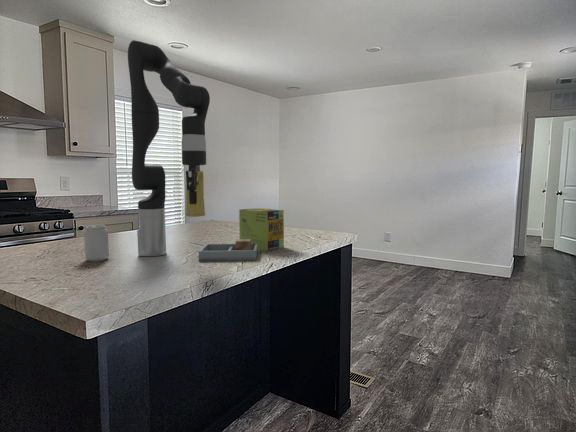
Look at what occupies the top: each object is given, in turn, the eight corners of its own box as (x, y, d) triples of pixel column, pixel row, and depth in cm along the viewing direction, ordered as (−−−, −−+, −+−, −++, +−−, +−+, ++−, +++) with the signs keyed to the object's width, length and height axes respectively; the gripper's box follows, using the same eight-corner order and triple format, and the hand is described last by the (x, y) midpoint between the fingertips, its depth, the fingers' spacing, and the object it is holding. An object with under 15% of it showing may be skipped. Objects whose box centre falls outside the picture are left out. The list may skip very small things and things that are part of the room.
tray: (198, 260, 134) (198, 251, 133) (206, 252, 148) (206, 243, 148) (255, 260, 134) (255, 250, 134) (257, 251, 149) (257, 243, 148)
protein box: (268, 251, 150) (267, 211, 148) (239, 247, 159) (238, 209, 157) (284, 247, 158) (284, 209, 156) (256, 243, 167) (255, 207, 166)
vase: (207, 214, 128) (206, 171, 126) (201, 216, 122) (200, 171, 120) (189, 214, 129) (188, 171, 127) (183, 216, 123) (181, 171, 121)
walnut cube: (235, 255, 139) (235, 241, 138) (237, 252, 144) (236, 239, 143) (249, 255, 139) (249, 241, 138) (250, 252, 144) (250, 239, 143)
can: (99, 262, 132) (97, 227, 131) (80, 261, 134) (78, 226, 133) (113, 257, 140) (112, 224, 138) (95, 257, 141) (93, 224, 140)
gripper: (201, 148, 116) (202, 205, 118) (209, 151, 130) (210, 201, 132) (176, 148, 116) (177, 205, 118) (187, 151, 130) (188, 201, 132)
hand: (195, 203), depth 125 cm, fingers closed on vase, 5 cm apart
